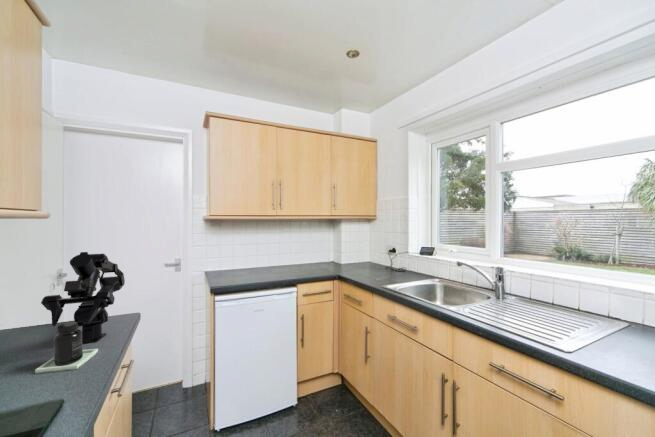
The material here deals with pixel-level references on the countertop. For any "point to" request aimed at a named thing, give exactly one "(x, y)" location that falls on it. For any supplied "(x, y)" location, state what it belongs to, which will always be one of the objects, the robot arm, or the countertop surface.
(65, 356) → the supplement bottle
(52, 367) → the sage tray
